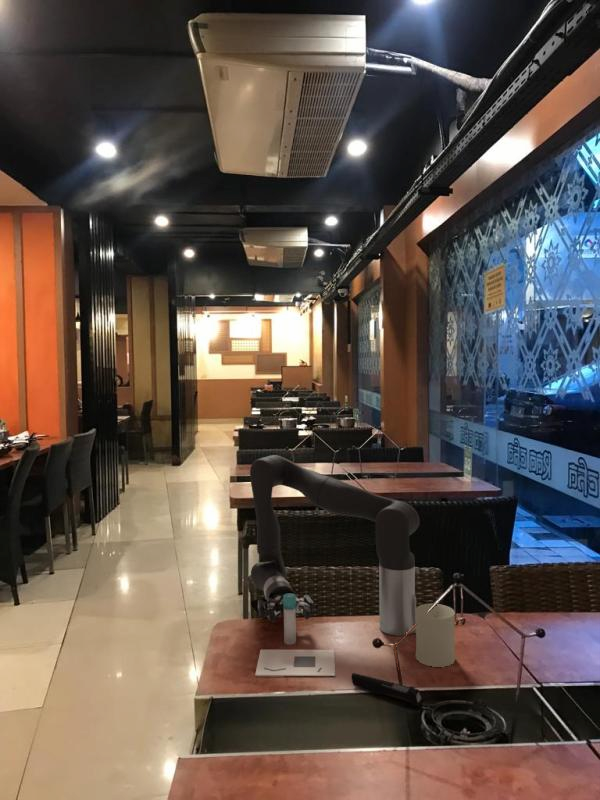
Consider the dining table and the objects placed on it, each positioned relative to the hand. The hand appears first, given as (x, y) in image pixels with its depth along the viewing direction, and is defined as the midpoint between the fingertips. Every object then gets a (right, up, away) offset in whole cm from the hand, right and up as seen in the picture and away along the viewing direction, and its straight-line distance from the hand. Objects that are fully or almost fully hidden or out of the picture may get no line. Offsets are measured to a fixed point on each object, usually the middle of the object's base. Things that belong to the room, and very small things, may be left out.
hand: (291, 617), depth 151 cm
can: (+34, -7, -7) cm, 36 cm away
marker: (0, -7, +2) cm, 7 cm away
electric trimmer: (+21, -9, -23) cm, 32 cm away
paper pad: (+1, -8, -9) cm, 12 cm away
